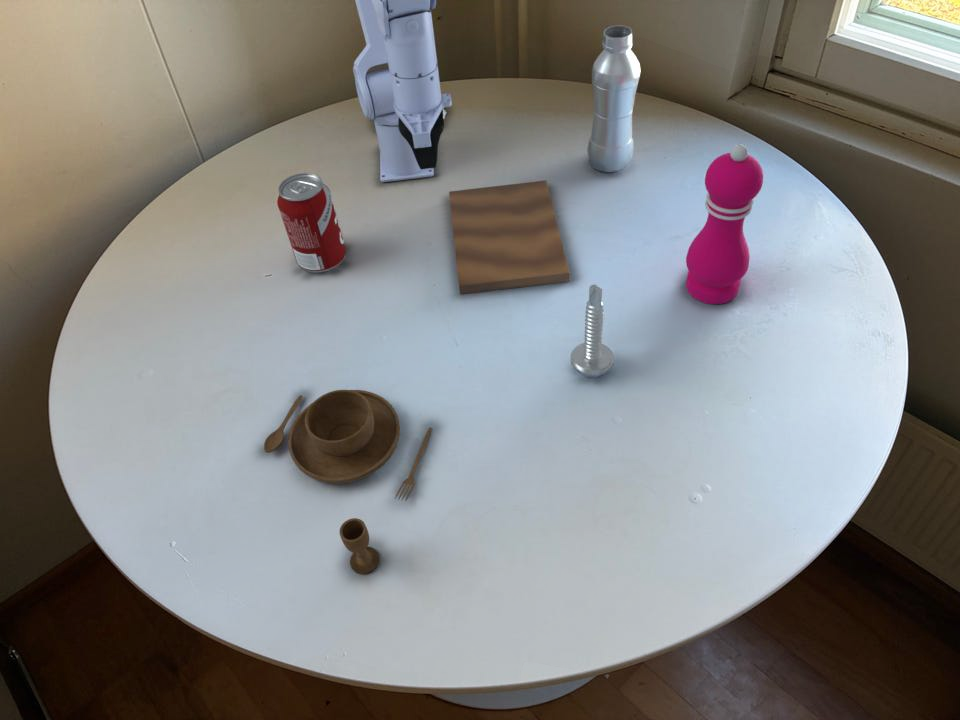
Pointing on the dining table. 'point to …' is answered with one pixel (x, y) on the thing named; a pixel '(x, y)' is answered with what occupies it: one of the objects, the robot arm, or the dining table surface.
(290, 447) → the place setting
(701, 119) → the dining table surface
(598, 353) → the screw
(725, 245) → the pepper mill
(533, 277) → the cutting board
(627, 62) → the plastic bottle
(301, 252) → the soda can
